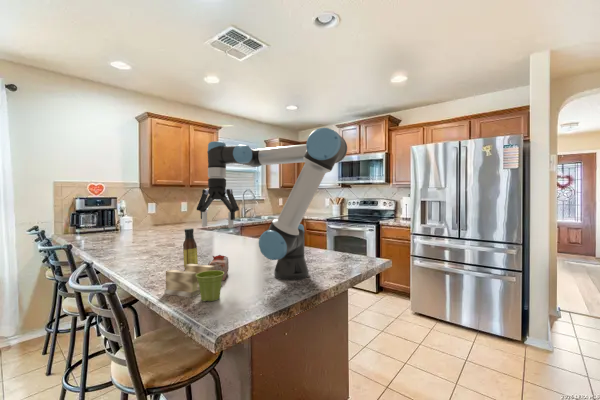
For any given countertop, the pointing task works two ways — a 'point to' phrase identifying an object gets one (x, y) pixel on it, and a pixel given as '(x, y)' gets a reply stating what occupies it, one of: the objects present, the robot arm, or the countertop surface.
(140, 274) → the countertop surface
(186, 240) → the sauce bottle
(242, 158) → the robot arm
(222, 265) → the food item
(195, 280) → the stand
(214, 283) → the plant pot
